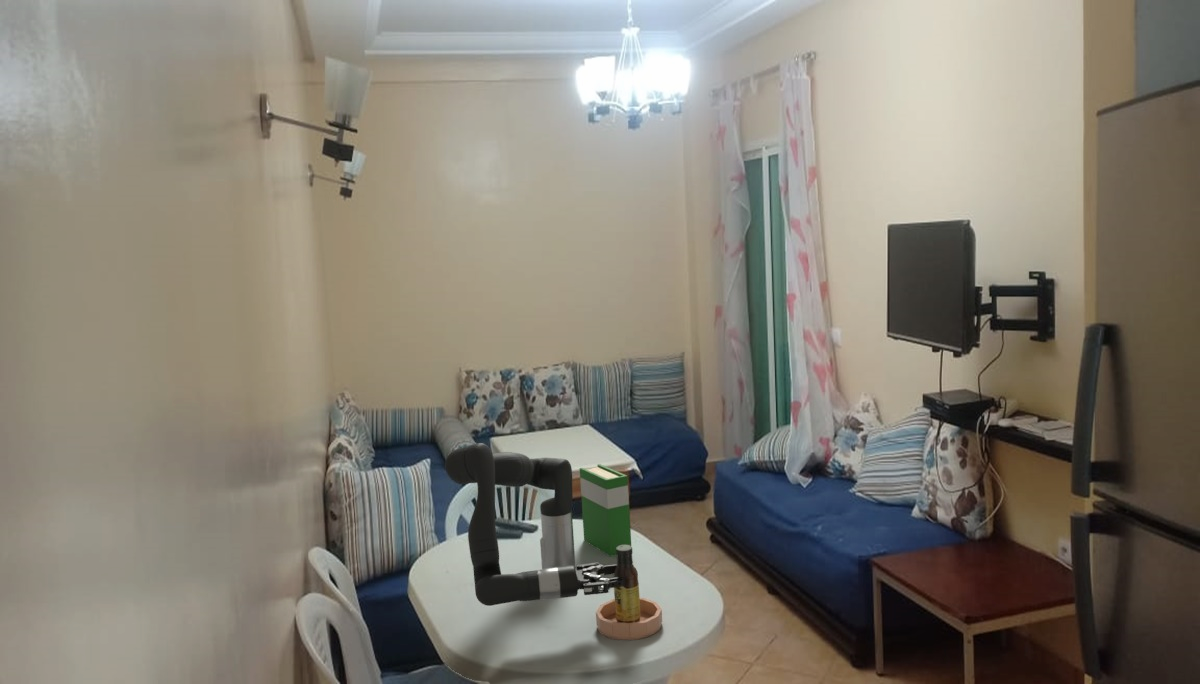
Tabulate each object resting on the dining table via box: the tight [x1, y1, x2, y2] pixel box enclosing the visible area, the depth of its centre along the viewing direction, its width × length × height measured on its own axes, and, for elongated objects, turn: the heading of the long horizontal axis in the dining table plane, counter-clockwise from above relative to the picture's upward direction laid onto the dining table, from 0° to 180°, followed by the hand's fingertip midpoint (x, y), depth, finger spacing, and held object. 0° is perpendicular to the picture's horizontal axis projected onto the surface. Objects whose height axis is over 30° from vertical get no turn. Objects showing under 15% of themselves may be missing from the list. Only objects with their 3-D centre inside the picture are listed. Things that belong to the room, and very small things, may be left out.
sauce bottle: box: [612, 545, 641, 623], centre depth 225 cm, size 7×6×20 cm
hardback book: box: [579, 463, 632, 557], centre depth 283 cm, size 18×7×24 cm, turn 28°
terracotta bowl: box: [595, 597, 663, 641], centre depth 226 cm, size 16×16×4 cm
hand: (621, 574), depth 225 cm, fingers open, 8 cm apart
